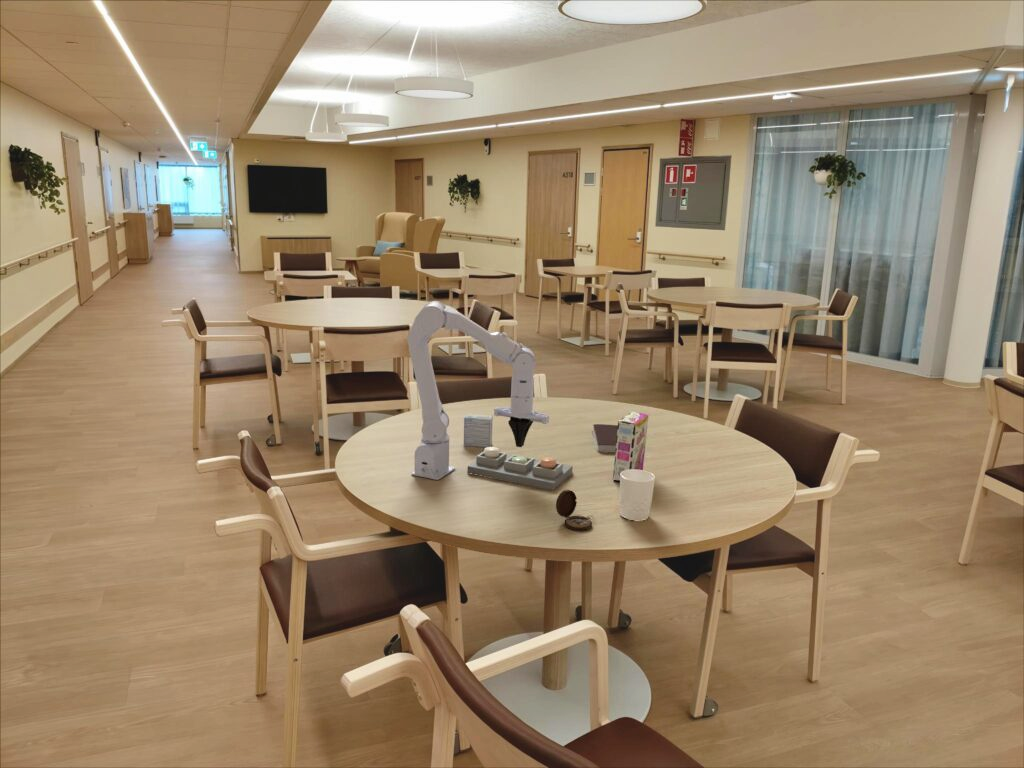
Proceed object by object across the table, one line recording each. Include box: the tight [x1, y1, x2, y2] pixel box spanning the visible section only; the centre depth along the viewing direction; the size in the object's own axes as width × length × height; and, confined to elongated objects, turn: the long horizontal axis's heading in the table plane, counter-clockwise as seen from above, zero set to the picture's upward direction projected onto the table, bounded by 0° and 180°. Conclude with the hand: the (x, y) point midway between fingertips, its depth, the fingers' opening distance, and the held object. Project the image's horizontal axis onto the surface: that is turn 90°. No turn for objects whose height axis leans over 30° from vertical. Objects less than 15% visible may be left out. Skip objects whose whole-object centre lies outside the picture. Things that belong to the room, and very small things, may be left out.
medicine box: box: [463, 413, 494, 448], centre depth 217 cm, size 8×4×9 cm, turn 84°
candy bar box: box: [612, 411, 649, 481], centre depth 196 cm, size 11×5×16 cm, turn 152°
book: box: [591, 423, 618, 453], centre depth 225 cm, size 12×19×3 cm, turn 178°
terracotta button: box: [539, 456, 557, 470], centre depth 192 cm, size 4×4×2 cm
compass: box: [555, 489, 595, 532], centre depth 167 cm, size 8×8×7 cm
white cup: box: [619, 469, 656, 520], centre depth 172 cm, size 8×8×10 cm
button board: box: [467, 451, 574, 491], centre depth 197 cm, size 14×24×4 cm, turn 66°
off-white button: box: [483, 446, 500, 459], centre depth 198 cm, size 4×4×2 cm
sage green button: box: [512, 456, 527, 464], centre depth 196 cm, size 4×4×2 cm
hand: (519, 445), depth 195 cm, fingers closed
